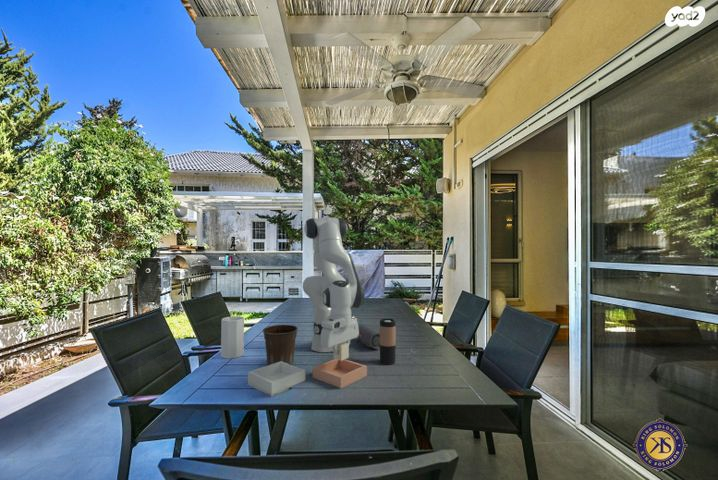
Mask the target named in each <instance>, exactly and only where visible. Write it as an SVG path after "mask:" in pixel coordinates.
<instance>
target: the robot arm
mask: <svg viewBox="0 0 718 480" xmlns="http://www.w3.org/2000/svg"><path fill="white" fill-rule="evenodd" d="M303 228H304V229H303V230H304V234H305V236H306V237H307V238H308V239H312V240H314V243H313V262H314V266H315V268H316V269H317V270H319V271H321V273H322V275H312V276H308V277H306V278H304V280H303V282H302V291H303V292H304V293H305V295H306V296H308V297H309V299H310V301H311V303H312V306H313V313H314V315H313V317H314V321H313V336H312V343H311V348H310V349H311V350H312V351H314V352H319V353H332V354H333V356H334V355H338V354H339V350H337V348H336V347H337V345H338V344H341V343H343V342H346V343H349V346H351V340H353V339H357V337H358V335H359V328H358V324H359V322H358V318H357V317H356V316H355V315H352V309H351V308H354V309H357V308H360V307H361V306H362V305H363V304H364V302H365V300H366V298H365V297H366V296H365V291H364V289H363V286H362V284H361V281H360V279H359V275H358V272H357V270H356V266H355V264H354V263H355V262H354V260H353V257H352V256H351V254H350V253H349V252H347V250H346V249H345V247H344V246H343V241H342V238H344V237H345V236H346V235H347V232H348V223H347V222H346V220H345V218H342V217H331V216H330V217H329V216H328V217H317V218H308V219H307V220H306V221H305V223H304V226H303ZM337 266H339V267H341V268H342V269H343V270H344V271H345V273H346V276H347V280H346V278H344V277H343V276H342V275H341V274H340V272H339V271H338V269H337Z"/></svg>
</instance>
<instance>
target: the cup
mask: <svg viewBox="0 0 718 480" xmlns="http://www.w3.org/2000/svg"><path fill="white" fill-rule="evenodd" d="M220 325H221V326H220V327H221V329H220V330H221V332H220V333H221V335H220V357H221V358H222V359H225V360H226V359H227V360H232V359H237V358H239V357H243V356H244V352H245V351H244V350H245V348H244V347H245V345H244V343H245V340H244V339H245V317H244V316H237V315H236V316H227V317H226V316H225V317H223V318H221V324H220Z"/></svg>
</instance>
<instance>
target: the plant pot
mask: <svg viewBox="0 0 718 480" xmlns="http://www.w3.org/2000/svg"><path fill="white" fill-rule="evenodd" d="M298 330H299V327H298V326H296V325H293V324H275V325H270V326H267V327H264V328H263V329H262V333H263V336H264V337H263V338H264V343H265V352H266V353H265V355H266V363H267V366H268V365H271V364H274V363H277V362H280V361H282V362H284V363H287V364H290V365H293V363H294V360H295V359H294V357H295V349H296V347H295V346H296V338H297V334H298Z"/></svg>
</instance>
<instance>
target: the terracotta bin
mask: <svg viewBox="0 0 718 480" xmlns="http://www.w3.org/2000/svg"><path fill="white" fill-rule="evenodd" d="M367 376H368V366H367V365H365V364H361V363H360V362H359V363H358V362H356V361H355V362H354V361H352V360H348V359H344V360H342V361H341V360H338V359H335V358H333V359H331V360H329V361H327V362H324V363H321V364H319V365H315V366H313V367H312V378H313V379H316V380H318V381H321V382H323V383H326V384H329V385H331V386H333V387H337V388H338V389H342V388H344V387H347V386H349V385H351V384H353V383H355V382H357V381H359V380H361V379H363V378H365V377H367Z"/></svg>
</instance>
